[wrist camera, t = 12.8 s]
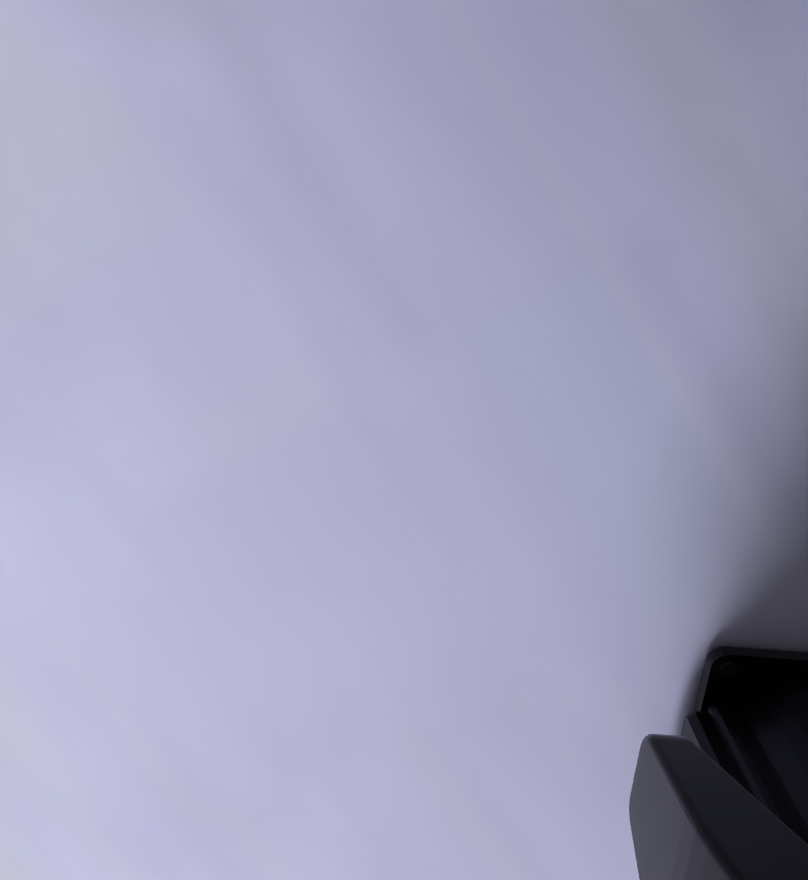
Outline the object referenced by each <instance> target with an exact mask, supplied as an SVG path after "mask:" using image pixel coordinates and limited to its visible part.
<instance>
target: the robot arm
mask: <svg viewBox="0 0 808 880" xmlns="http://www.w3.org/2000/svg"><path fill="white" fill-rule="evenodd" d="M725 662H732V663H731V665H730V666H728V667H727V668H720V666H721V665H722V664H724V663H725ZM629 814H630V824H631V830H632V837H633V843H634V849H635V855H636V861H637V867H638V873H639V879H640V880H808V653H802V652H790V651H778V650H765V649H753V648H741V647H728V646H726V647H719V648H716V649H714V650H713V651H712V652H710V653H709V654H708V657H707V659H706V662H705V666H704V670H703V675H702V679H701V683H700V687H699V692H698V696H697V700H696V705H695V709H694V711H691V712H690V713H689V715H688V716H687V717H686V718H685V722H684V727H683V731H682V735H681V736H673V735H660V734H649V735H648V736H646V737H645V738H644V740H643V741H642V743H641V747H640V751H639V756H638V761H637V766H636V770H635V775H634V780H633V785H632V790H631V795H630V803H629Z"/></svg>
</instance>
